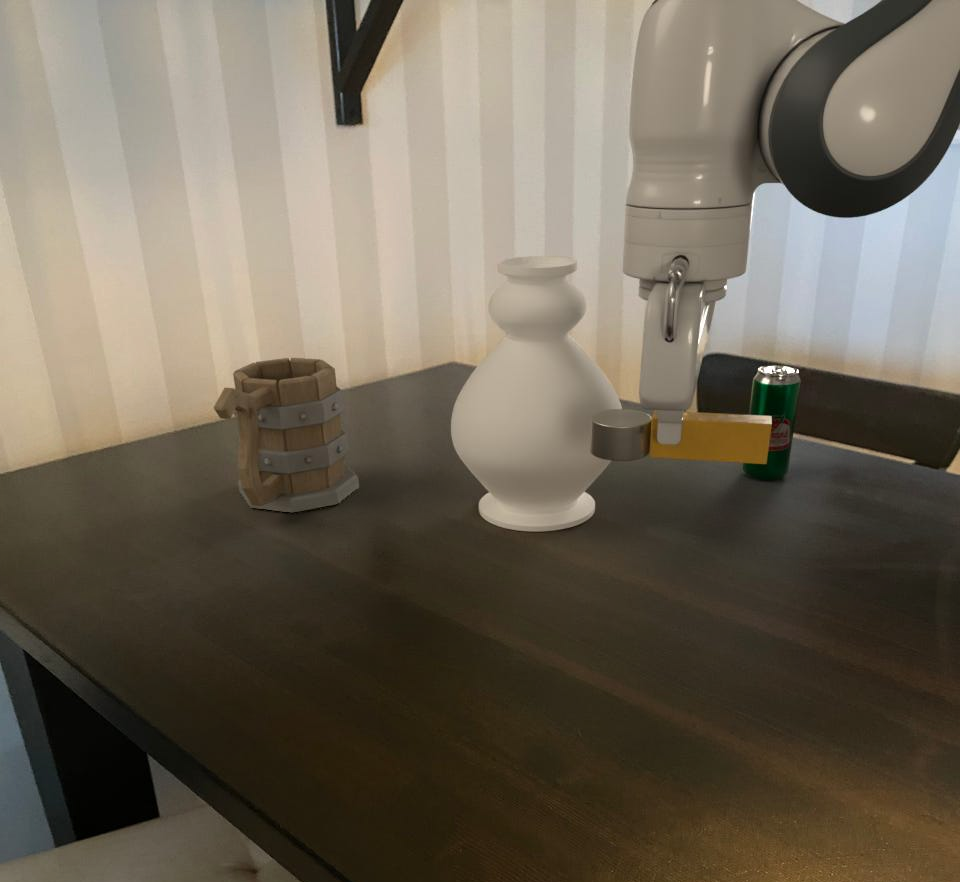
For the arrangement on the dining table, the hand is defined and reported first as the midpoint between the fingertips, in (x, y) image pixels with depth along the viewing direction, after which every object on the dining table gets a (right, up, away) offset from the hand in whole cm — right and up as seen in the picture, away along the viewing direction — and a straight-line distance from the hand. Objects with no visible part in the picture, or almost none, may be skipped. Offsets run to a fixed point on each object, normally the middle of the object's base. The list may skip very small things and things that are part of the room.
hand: (670, 434), depth 74 cm
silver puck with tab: (0, -1, +1) cm, 2 cm away
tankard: (-37, -1, +30) cm, 48 cm away
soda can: (+18, +3, +34) cm, 38 cm away
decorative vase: (-9, -2, +27) cm, 28 cm away
